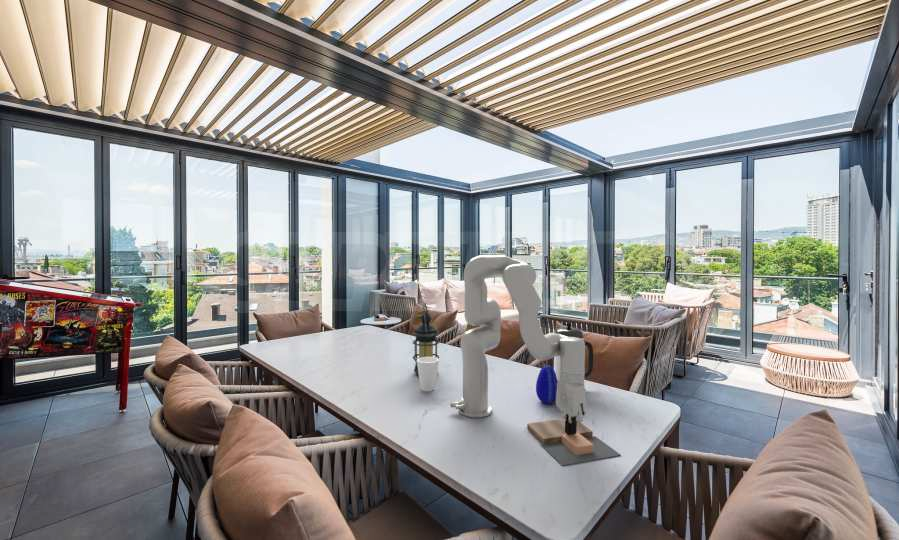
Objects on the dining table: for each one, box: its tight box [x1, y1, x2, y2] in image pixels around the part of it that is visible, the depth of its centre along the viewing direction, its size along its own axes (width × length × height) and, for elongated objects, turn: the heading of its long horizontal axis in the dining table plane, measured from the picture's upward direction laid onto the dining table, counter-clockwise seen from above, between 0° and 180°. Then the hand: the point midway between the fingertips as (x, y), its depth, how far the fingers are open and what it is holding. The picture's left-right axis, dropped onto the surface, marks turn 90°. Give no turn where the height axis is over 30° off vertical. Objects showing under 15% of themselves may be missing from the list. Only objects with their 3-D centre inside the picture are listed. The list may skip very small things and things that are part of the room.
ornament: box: [535, 365, 558, 405], centre depth 156 cm, size 11×9×15 cm
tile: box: [561, 433, 594, 455], centre depth 120 cm, size 6×8×2 cm
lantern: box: [412, 302, 440, 375], centre depth 191 cm, size 14×13×35 cm
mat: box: [540, 435, 621, 467], centre depth 119 cm, size 20×12×1 cm, turn 106°
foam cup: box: [417, 356, 440, 392], centre depth 170 cm, size 10×9×13 cm
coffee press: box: [552, 321, 594, 392], centre depth 170 cm, size 17×16×30 cm
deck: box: [526, 418, 594, 445], centre depth 130 cm, size 18×11×2 cm, turn 106°
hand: (570, 433), depth 123 cm, fingers closed
